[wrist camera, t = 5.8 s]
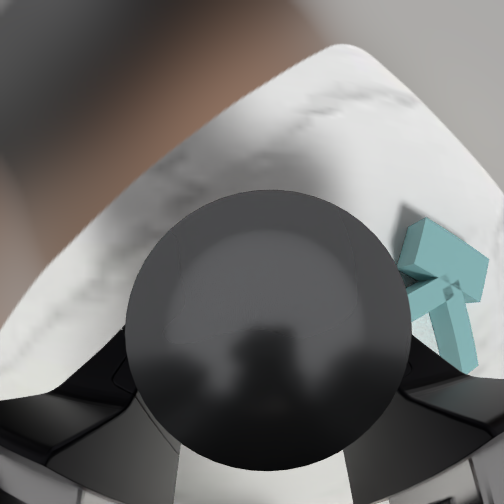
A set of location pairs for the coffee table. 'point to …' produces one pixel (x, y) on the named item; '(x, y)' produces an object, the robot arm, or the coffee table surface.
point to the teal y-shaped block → (444, 287)
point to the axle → (268, 330)
